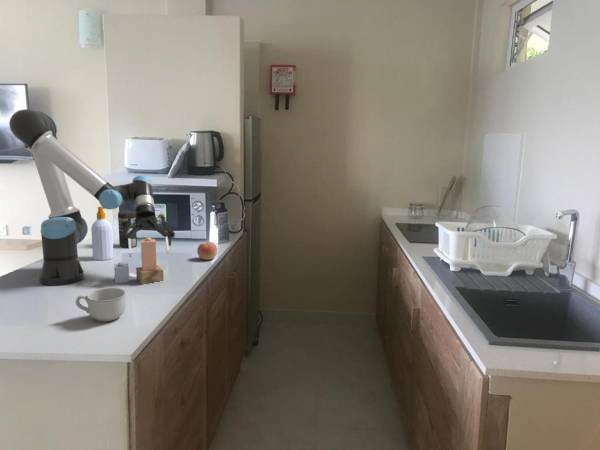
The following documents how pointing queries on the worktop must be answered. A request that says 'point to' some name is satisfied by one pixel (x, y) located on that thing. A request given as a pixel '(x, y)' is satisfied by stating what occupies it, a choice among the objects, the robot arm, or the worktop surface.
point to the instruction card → (133, 274)
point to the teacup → (104, 303)
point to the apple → (207, 250)
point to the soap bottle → (102, 237)
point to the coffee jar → (122, 222)
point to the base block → (149, 275)
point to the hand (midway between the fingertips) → (149, 253)
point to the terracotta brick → (148, 254)
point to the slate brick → (121, 272)
